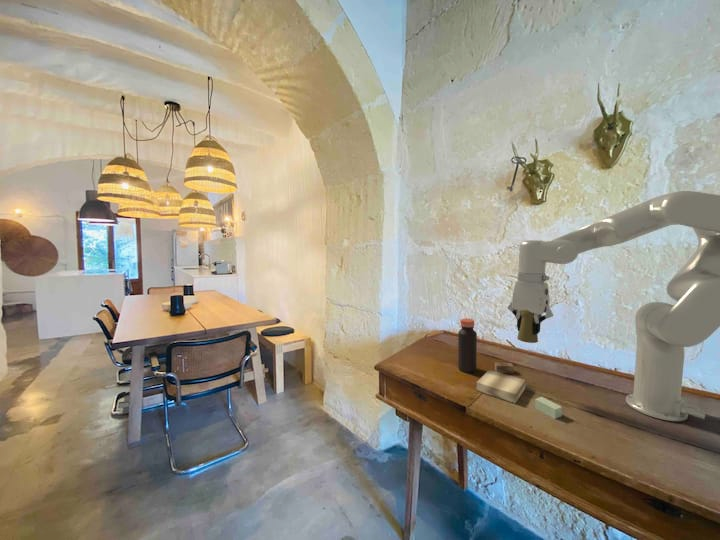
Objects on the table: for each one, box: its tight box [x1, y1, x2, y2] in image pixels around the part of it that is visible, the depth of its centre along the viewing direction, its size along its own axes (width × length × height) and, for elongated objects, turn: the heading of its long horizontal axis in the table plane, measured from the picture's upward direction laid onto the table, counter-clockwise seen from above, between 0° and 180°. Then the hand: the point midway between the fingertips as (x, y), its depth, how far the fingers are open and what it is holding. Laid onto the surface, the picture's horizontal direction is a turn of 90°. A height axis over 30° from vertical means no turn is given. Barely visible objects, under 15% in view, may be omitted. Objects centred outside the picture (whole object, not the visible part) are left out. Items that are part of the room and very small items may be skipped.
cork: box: [517, 310, 539, 344], centre depth 95 cm, size 6×6×11 cm
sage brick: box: [534, 396, 563, 420], centre depth 84 cm, size 6×3×3 cm, turn 23°
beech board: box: [476, 369, 526, 404], centre depth 97 cm, size 12×12×3 cm
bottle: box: [457, 318, 478, 374], centre depth 112 cm, size 7×7×20 cm
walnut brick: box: [494, 361, 515, 375], centre depth 110 cm, size 6×3×3 cm, turn 78°
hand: (528, 331), depth 96 cm, fingers closed on cork, 4 cm apart
